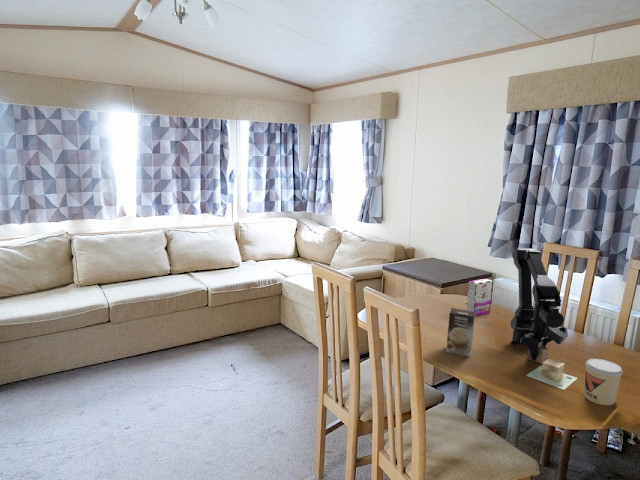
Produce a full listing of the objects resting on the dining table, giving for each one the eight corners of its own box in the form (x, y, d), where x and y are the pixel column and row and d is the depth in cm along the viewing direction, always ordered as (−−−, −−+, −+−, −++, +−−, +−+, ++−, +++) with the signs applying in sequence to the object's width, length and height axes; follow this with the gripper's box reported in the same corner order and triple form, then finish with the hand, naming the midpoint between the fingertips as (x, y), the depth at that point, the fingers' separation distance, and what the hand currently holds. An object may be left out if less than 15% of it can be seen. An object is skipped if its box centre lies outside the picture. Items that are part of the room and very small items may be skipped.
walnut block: (527, 360, 161) (528, 347, 160) (532, 356, 164) (534, 343, 164) (541, 365, 158) (542, 352, 157) (546, 361, 161) (548, 348, 160)
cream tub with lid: (574, 393, 139) (579, 358, 137) (602, 393, 140) (607, 357, 138) (595, 410, 130) (600, 372, 128) (624, 409, 131) (630, 372, 129)
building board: (525, 378, 148) (526, 374, 148) (540, 367, 156) (541, 364, 156) (563, 392, 140) (564, 388, 139) (577, 380, 148) (577, 377, 147)
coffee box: (445, 352, 167) (448, 312, 164) (447, 346, 173) (451, 307, 170) (470, 357, 163) (474, 316, 161) (472, 351, 169) (475, 311, 166)
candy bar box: (482, 310, 217) (485, 278, 214) (490, 313, 213) (493, 280, 210) (465, 313, 212) (468, 280, 209) (473, 316, 207) (476, 283, 205)
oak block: (541, 376, 148) (542, 362, 147) (547, 371, 151) (548, 358, 150) (556, 381, 144) (558, 367, 143) (562, 377, 148) (564, 363, 147)
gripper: (555, 330, 146) (549, 373, 149) (575, 318, 158) (570, 358, 161) (522, 320, 154) (517, 362, 157) (543, 309, 166) (539, 348, 169)
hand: (537, 357), depth 161 cm, fingers closed on walnut block, 5 cm apart
